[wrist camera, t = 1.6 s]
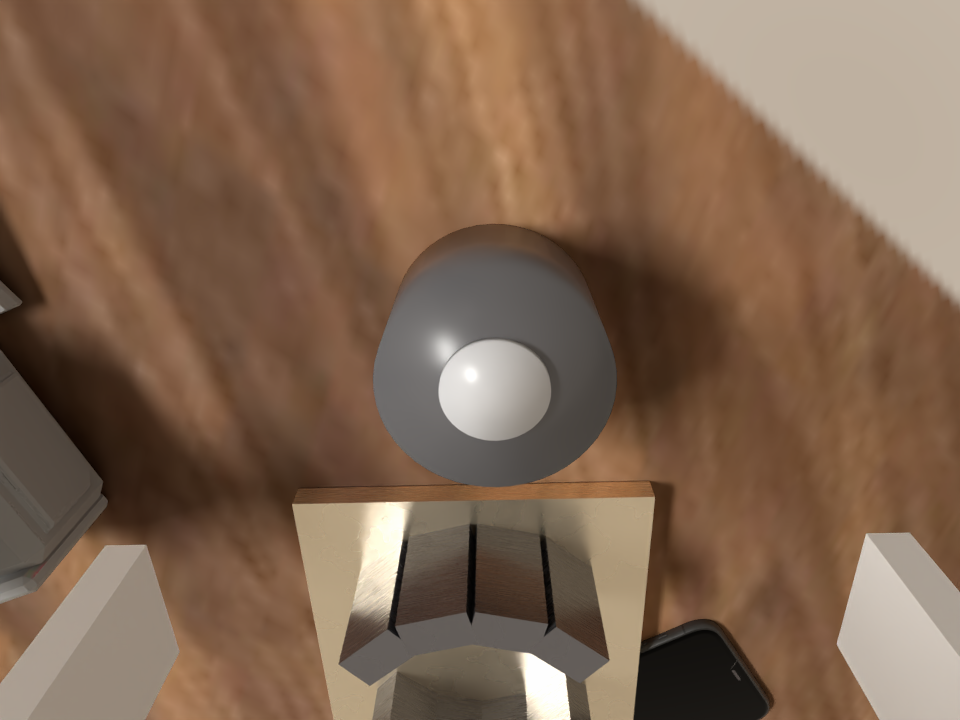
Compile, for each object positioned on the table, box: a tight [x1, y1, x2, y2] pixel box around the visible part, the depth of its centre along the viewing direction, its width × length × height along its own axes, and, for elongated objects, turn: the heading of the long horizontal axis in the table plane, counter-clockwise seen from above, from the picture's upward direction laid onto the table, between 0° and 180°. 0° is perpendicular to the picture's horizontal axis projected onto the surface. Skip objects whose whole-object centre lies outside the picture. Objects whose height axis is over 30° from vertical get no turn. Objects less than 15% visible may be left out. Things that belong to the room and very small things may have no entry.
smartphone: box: [633, 619, 770, 720], centre depth 33 cm, size 7×1×15 cm
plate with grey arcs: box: [292, 481, 655, 720], centre depth 28 cm, size 14×14×6 cm
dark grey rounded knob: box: [373, 224, 617, 487], centre depth 22 cm, size 7×7×5 cm
